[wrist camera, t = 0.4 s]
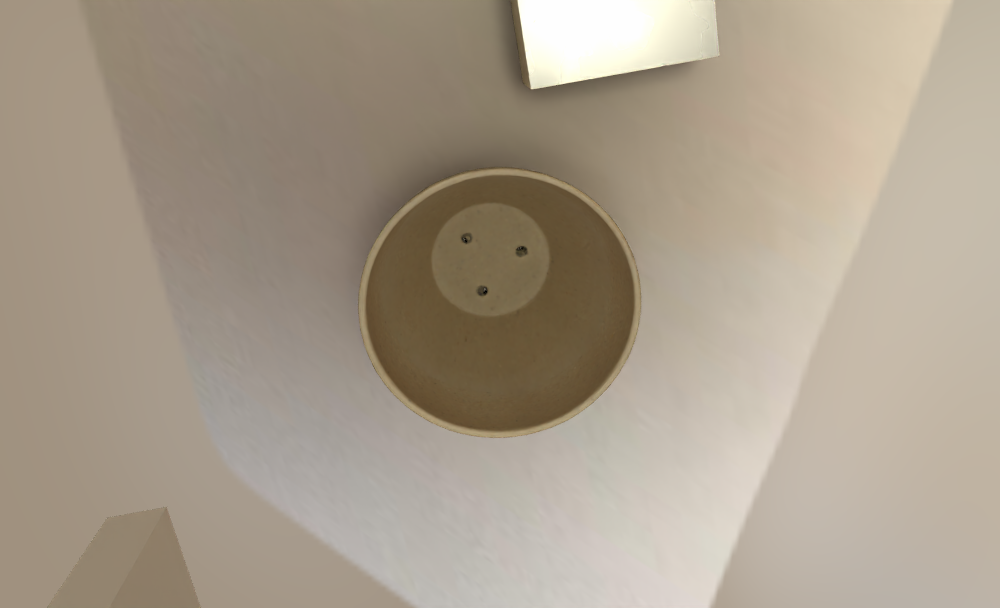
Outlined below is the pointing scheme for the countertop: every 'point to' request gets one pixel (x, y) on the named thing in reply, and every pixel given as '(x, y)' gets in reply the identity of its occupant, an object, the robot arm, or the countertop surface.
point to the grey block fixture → (609, 37)
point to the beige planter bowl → (499, 302)
